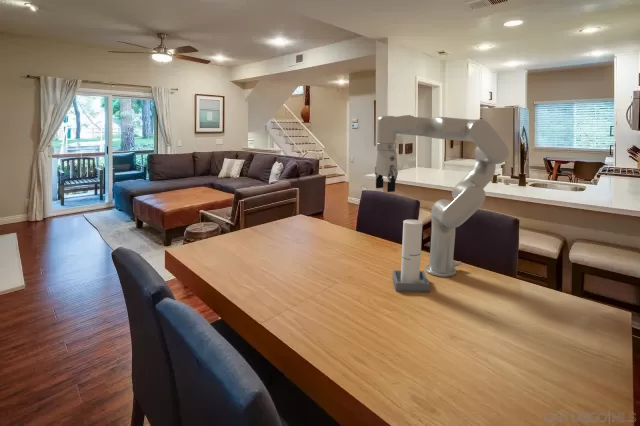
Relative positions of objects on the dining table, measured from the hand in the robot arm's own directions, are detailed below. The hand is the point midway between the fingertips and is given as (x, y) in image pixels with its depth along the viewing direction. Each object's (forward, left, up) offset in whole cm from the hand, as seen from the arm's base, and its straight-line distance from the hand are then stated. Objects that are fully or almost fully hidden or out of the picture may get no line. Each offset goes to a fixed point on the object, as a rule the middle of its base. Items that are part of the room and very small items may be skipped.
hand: (385, 189), depth 149 cm
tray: (-4, +16, -36) cm, 40 cm away
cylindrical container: (-4, +15, -36) cm, 39 cm away
